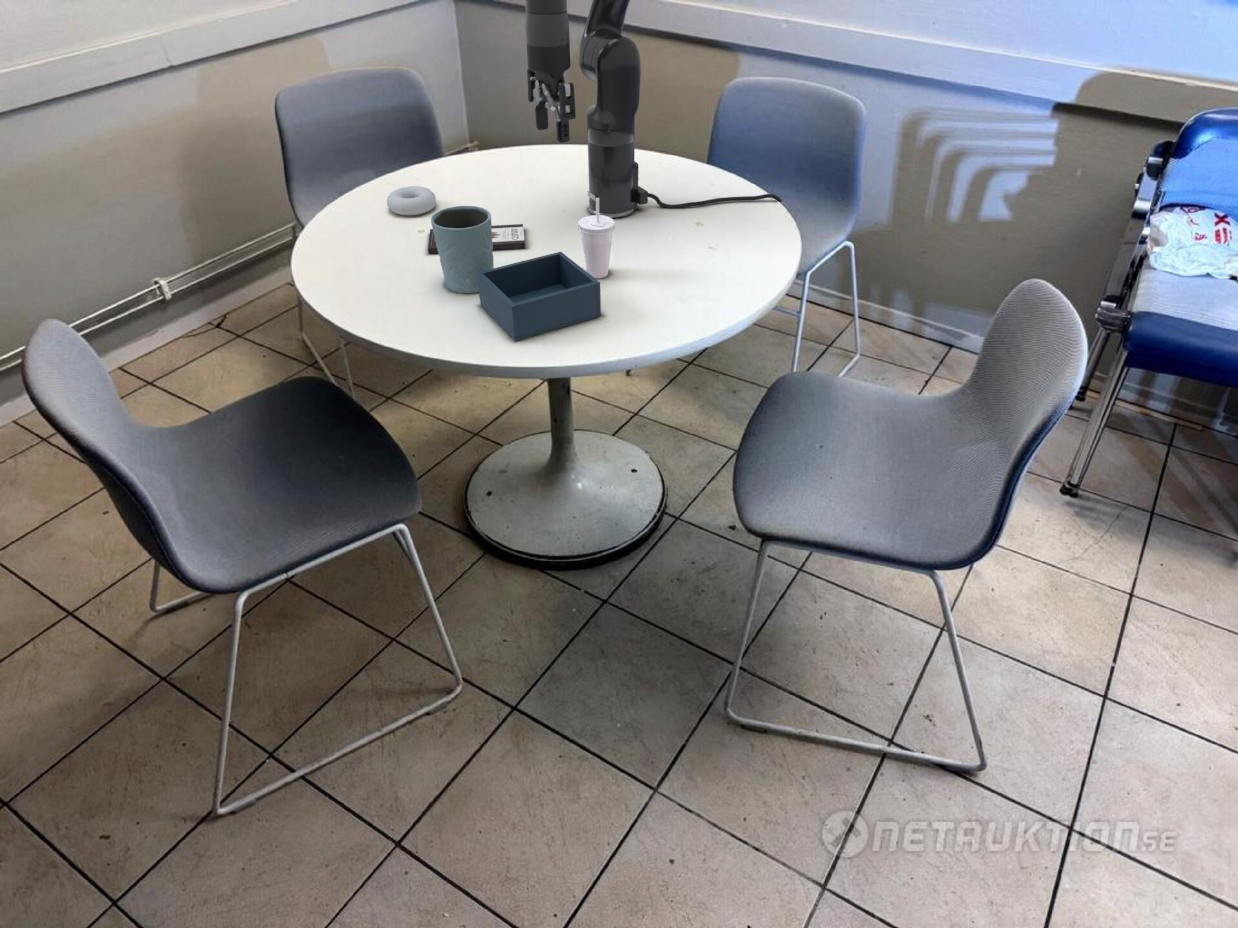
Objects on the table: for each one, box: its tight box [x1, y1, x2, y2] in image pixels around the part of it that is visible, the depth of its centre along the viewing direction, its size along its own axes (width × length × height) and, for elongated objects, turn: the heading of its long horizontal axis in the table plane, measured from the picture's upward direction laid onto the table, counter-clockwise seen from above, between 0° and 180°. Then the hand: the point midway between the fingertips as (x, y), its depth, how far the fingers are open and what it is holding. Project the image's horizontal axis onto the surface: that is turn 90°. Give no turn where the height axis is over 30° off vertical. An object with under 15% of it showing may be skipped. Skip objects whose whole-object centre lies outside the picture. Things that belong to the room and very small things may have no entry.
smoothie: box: [577, 198, 616, 279], centre depth 145 cm, size 6×6×14 cm
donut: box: [386, 185, 437, 216], centre depth 172 cm, size 10×3×10 cm
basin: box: [477, 251, 602, 342], centre depth 137 cm, size 16×14×6 cm
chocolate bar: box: [427, 223, 526, 254], centre depth 160 cm, size 9×1×18 cm
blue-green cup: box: [430, 205, 495, 294], centre depth 143 cm, size 10×10×12 cm
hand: (552, 135), depth 155 cm, fingers open, 8 cm apart
